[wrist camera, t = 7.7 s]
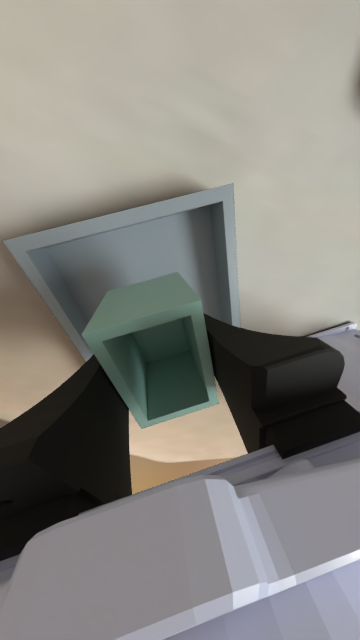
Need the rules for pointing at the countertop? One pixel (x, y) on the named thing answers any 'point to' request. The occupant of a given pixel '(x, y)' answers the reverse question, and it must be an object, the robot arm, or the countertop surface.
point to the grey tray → (136, 257)
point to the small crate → (155, 348)
